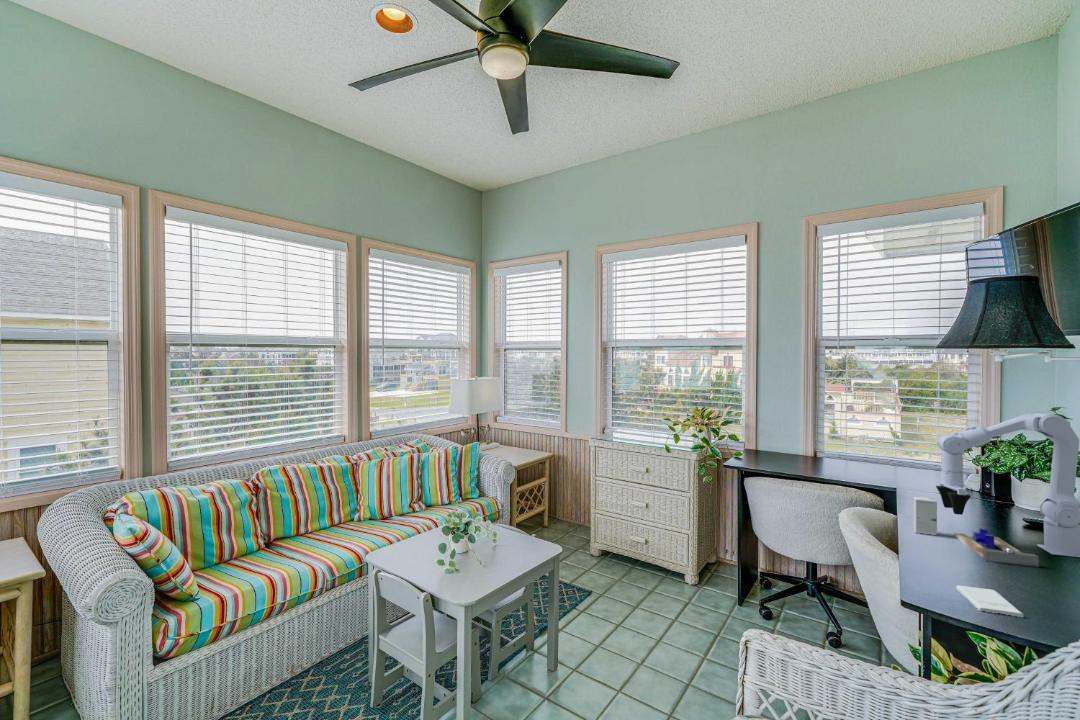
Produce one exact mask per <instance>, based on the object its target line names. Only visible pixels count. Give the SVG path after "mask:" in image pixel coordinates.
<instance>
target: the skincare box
mask: <svg viewBox="0 0 1080 720" xmlns="http://www.w3.org/2000/svg"><path fill="white" fill-rule="evenodd" d="M937 513H938V502H937V500H936V499H935V498H930V497H921V496H913V531H914V533H915V532H916V533H915V534H920V533H923V534H922V535H927V534H931V535H930V536H933V535H936V536H938V535H937V532H938V530H937V529H938V527H937V526H938V523H937V521H938V518H937V517H938V514H937Z"/></svg>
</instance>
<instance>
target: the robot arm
mask: <svg viewBox="0 0 1080 720" xmlns="http://www.w3.org/2000/svg"><path fill="white" fill-rule="evenodd" d="M1021 430H1024V431H1031V432H1032V431H1033V432H1037V433H1040V434H1042V435H1044V436H1045V437H1046V438H1047V439H1049V440H1050V441H1051V442H1052V443H1053V449H1052V457H1051V470H1050V477H1049V478H1050V479H1049V489H1048V491H1047V492H1046V493H1045V494H1044V497H1043V498H1044V499H1043V500H1042V501H1041V502H1040V504H1039V512H1040V513H1041V514H1042V515H1043V516H1044V517H1043V544H1041V543H1040V544H1038V543H1037V546H1038V548H1041V549H1042V550H1044V551H1045V552H1047V553H1049V554H1050V555H1054V556H1055V555H1056V556H1064V557H1065V556H1066V557H1075V558H1080V509H1079V508H1080V507H1079V506H1080V504H1079V502H1078V501H1077V498H1076V497H1075V488H1076V481H1077V480H1076V478H1077V468H1078V460H1079V459H1078V458H1079V451H1080V450H1079V448H1080V438H1079V437H1078V436H1077V434H1076V432H1075V431H1074V429H1073V428H1072V426H1071V422H1070V421H1068V419H1065V418H1064V417H1063V416H1060V415H1059V414H1055V413H1053V414H1052V413H1047V412H1046V413H1045V412H1044V411H1043V412H1042V411H1034V412H1031V413H1026V414H1022V415H1018V416H1016V417H1013V418H1009V419H1008V420H1005V421H1002V422H1000V423H997V424H994V425H991V426H988V427H985V428H984V427H982V426H975V425H972V426H969V429H966V430H963V431H960V432H957V431H955V432H952V434H953V435H951V434H950V435H949V434H946V435H943V436H941V438H939V440H938V442H937V445H938V447H939V448H940V451H941V453H940V455H941V456H940V471H941V473H940V475H941V478H940V479H939V482H937V483H936V484H937V485H936V486H935V488H936V489H937V491H938V493H939V496H940V497H941V501H942V505H943V507H944V508H945V509H946V508H947V509H952V512H953V514H954V515H962V516H963V514H964V511H965V508H966V505H967V502H968V501H969V500H970V499H971V494H967V489H966V487H965V486H966V485H965V484H964V457H963V453H964V452H965V451H966V450H970V449H972V448H976V447H979V446H982V445H984V444H985V445H987V444H988V443H990V442H991V440H992V439H993V438H994V437H995V438H996V437H998V436H1004V435H1005V434H1010V433H1013V432H1017V431H1021Z"/></svg>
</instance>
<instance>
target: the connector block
mask: <svg viewBox="0 0 1080 720" xmlns="http://www.w3.org/2000/svg"><path fill="white" fill-rule="evenodd" d="M1015 549H1016V548H1015ZM1015 549H1013V548H1008V547H1006V548H1005V550H1006V551H1003V550H998V549H991V548H990V549H987V548H985V549H983V558H982V559H983V560H984V561H986V562H992V563H1001V564H1010V565H1017V566H1024V567H1025V566H1027V567H1035V568H1040V566H1039V565H1040V563H1039V562H1040V560H1039V559H1040V558H1039V556H1038V555H1036V554H1034V553H1025V552H1022V553H1018V552H1015Z"/></svg>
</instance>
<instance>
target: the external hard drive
mask: <svg viewBox="0 0 1080 720" xmlns="http://www.w3.org/2000/svg"><path fill="white" fill-rule="evenodd" d="M956 590H957V592H959V593H960V594H961V595H962V596H963V597H964V598H965V599H966V598H967V599H968V600H969V603H970V604H972V606H974V608H976V609H977V608H978V609H977V610H978V611H979V610H980V611H986V612H985V613H987V612H992V613H991V614H994V613H996V615H998V614H997V613H1000V614H999V615H1003V614H1005V615H1004V616H1008V615H1011V616H1010V617H1015V616H1017V617H1016V618H1024V613H1023V612H1021V611H1020V610H1019V609H1017V607H1015V606H1014V605H1013V604H1012V603H1010V602H1009V601H1008V600H1007V599H1006V598H1005V597H1003V596H1002V595H1001V594H1000V593H999V592H998V591H996V590H994V589H988V588H981V587H973V586H967V585H956ZM967 599H966V600H967ZM968 600H967V601H968ZM980 611H979V612H980Z"/></svg>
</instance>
